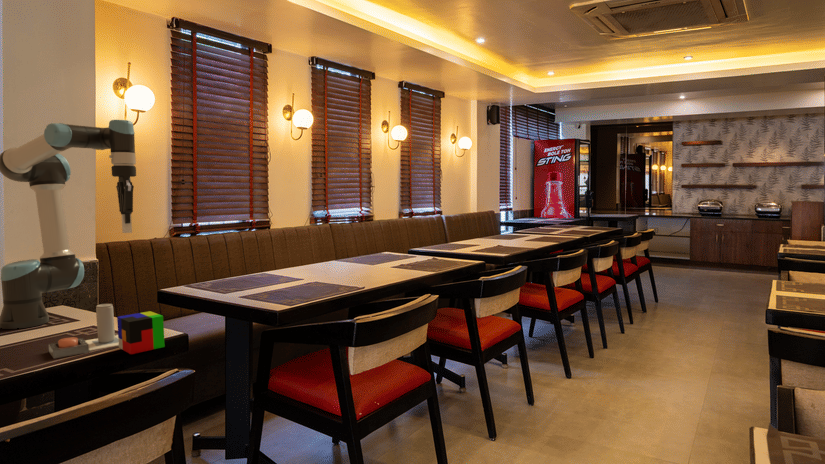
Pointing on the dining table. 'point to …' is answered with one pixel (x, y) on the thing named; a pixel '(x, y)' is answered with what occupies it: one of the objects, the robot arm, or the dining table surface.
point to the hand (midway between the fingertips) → (127, 232)
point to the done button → (68, 342)
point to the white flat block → (101, 344)
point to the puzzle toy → (140, 332)
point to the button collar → (68, 349)
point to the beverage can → (105, 323)
